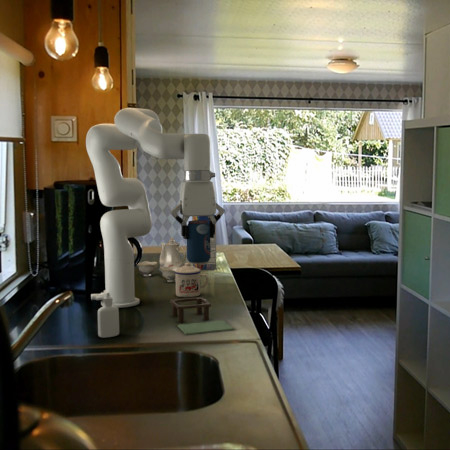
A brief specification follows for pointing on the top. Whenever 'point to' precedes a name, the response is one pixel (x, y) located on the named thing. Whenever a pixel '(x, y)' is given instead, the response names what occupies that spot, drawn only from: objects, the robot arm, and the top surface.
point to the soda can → (198, 242)
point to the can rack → (199, 307)
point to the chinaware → (165, 261)
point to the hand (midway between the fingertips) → (198, 237)
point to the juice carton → (212, 262)
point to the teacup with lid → (188, 281)
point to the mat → (205, 327)
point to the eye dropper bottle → (108, 319)
